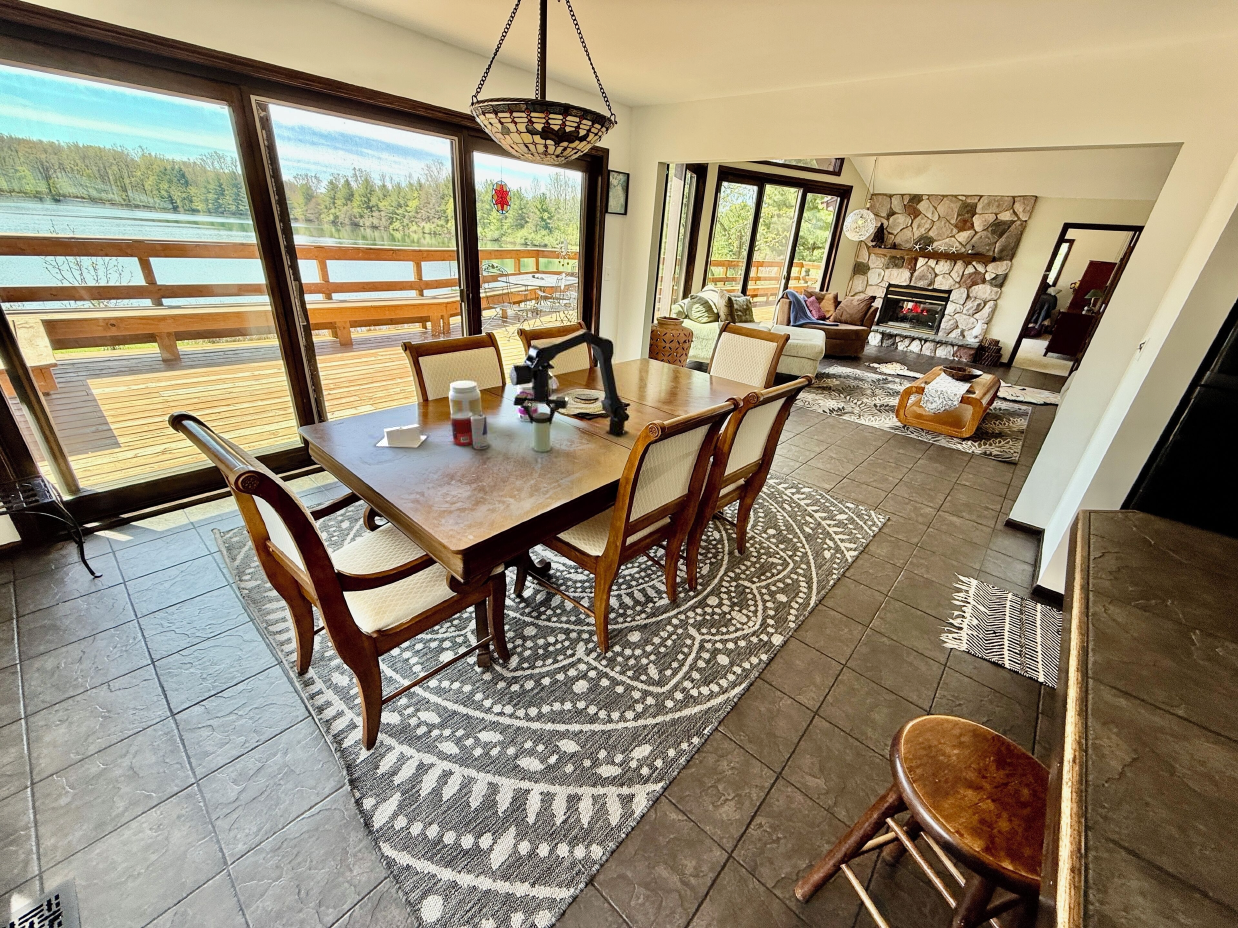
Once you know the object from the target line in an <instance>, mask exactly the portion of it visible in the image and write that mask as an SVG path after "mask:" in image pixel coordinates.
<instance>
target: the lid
mask: <svg viewBox="0 0 1238 928" xmlns="http://www.w3.org/2000/svg"><path fill="white" fill-rule="evenodd" d="M549 420H550V413H548V412H541V411H540V412H539V411H538V413H534V414H533V415H532V421H533V422H535V423H547V422H549Z"/></svg>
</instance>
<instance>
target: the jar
mask: <svg viewBox="0 0 1238 928" xmlns="http://www.w3.org/2000/svg"><path fill="white" fill-rule="evenodd" d="M532 436H533V437H532V438H533V440H532V441H533V443H532V444H533V450H534V451H535V452H538V453H539V452H540V453H544V452H545V453H546V452H548V451H550V450H551V425H550V422H547V423H535V422H533V423H532Z"/></svg>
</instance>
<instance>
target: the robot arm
mask: <svg viewBox="0 0 1238 928" xmlns="http://www.w3.org/2000/svg"><path fill="white" fill-rule="evenodd" d="M583 344H587V345H589V346H590V348H591V350H592V353H593V355H594V357H595V358H596V360H597V361H598V365H599V366H598V367H599V371H600V376H601V381H602V386H603V392H604V398H603V399H601V400H600V403H601V409H602V410H603V412H604V413H605V414H606V416H607V417H608V418H610V419H609V426H608V430H606V432H605V433H606V434H609V435H612V436H616V437H620V436H622V435H625V434H627V433H628V430H626V429H625V425H626V422H628V421H629V420H630V414H629V413H627V411H626V410H625V407H624V404H623V401H622V399H621V398H620V396H619V394H618V390H617V384H616V379H615V374H614V373H615V372H614V368H613V361H612V360H613V357H614V343H613V341H612V340H610V339H609V338H606V337H604V336H600V335H596V334H595V333H593V332H592V331H591V330H588V329H585V328H580V329H579V330H577V331H575V332H573V333H571V334H568V335H565V336H563V337H561V338H558V339H555V340H554V341H550V342H549V341H547V342H539V343H535V344H533V345H531V346H530V347H529V350H528V354H527V355H526V357H525V359H524V361H523V362H522V364H511V368H510V371H509V381H510V383H511V385H512V386H519V385H523V384H530V383H532V392H533V398H531V397H528V395H527V394H518V393H517V394H516V395H515V396H514V397H513V400H512V403H513V406H517V407H518V406H521V408H523V409H524V410H525V412H526V413H527V415H528V417H529V419H530V423H531V424H533V421H532V415H533V411H532V403H538V405H539V404H541V405H551V406H550V408H549V414H550V420H549V422H550V426H552V423H553V420H554V417H555V414H556V412H557V411H559V410H565V409H566V408H567V407H568V405H569V398H568V397H567V396H559V395H557V396H556V398H552V395H553V388H552V387H549V372H550V370H553V369H555V366H554V365H553V364H552V363H551V361H553V360H555V359H556V357H557V356H558V355H559V354H561V353H564V352H566V351H569V350H571V349H573V348H576V347H578V346H581V345H583Z"/></svg>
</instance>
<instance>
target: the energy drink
mask: <svg viewBox="0 0 1238 928" xmlns="http://www.w3.org/2000/svg"><path fill="white" fill-rule="evenodd" d="M471 426H472V437H473V443H472V446H473V448H474V449H476V450H485V449H487V448H488V447H489V435H488V434H489V433H488V423H487V417H486V415H485V414H484V413H482V414H474V415H472V416H471Z"/></svg>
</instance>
